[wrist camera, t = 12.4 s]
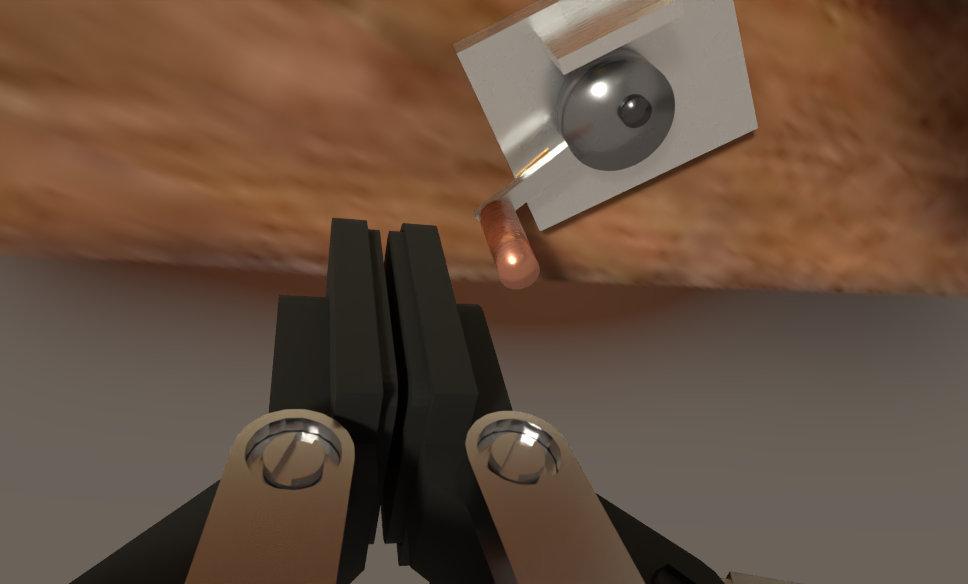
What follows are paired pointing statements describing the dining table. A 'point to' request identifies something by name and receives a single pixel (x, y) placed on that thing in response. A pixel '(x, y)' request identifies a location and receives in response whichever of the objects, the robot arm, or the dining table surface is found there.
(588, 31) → the stand
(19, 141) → the dining table surface
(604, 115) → the crank
